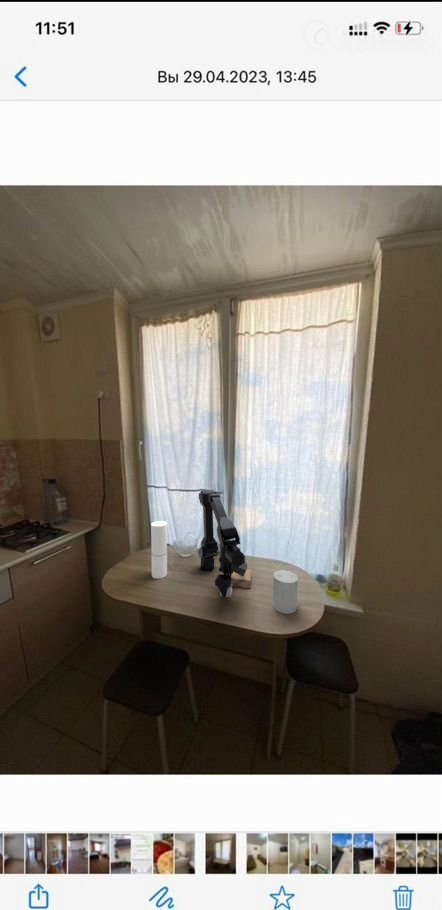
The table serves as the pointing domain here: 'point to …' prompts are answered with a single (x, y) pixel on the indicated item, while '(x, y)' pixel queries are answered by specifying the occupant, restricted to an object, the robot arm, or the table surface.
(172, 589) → the table surface
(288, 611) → the white cylinder
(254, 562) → the table surface
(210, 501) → the robot arm
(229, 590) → the grey cube
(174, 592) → the table surface
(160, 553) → the cylindrical container
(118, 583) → the table surface
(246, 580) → the tan block
